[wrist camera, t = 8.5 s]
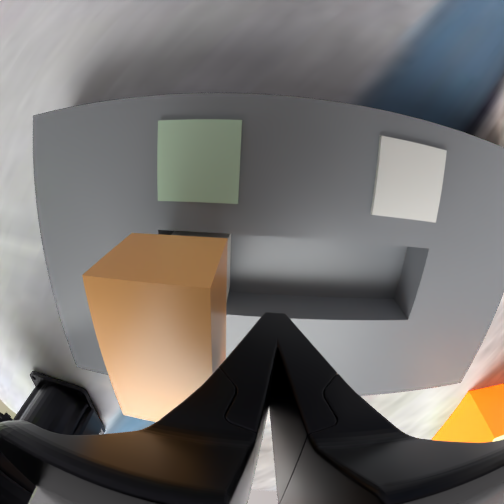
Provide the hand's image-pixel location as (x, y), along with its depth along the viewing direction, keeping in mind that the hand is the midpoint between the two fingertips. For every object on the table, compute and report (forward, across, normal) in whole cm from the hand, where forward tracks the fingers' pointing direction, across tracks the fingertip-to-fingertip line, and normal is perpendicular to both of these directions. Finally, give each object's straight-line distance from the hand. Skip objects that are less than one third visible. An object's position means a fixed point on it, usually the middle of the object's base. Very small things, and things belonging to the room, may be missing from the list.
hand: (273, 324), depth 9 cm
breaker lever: (+5, +3, 0) cm, 6 cm away
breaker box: (+6, -1, 0) cm, 6 cm away
